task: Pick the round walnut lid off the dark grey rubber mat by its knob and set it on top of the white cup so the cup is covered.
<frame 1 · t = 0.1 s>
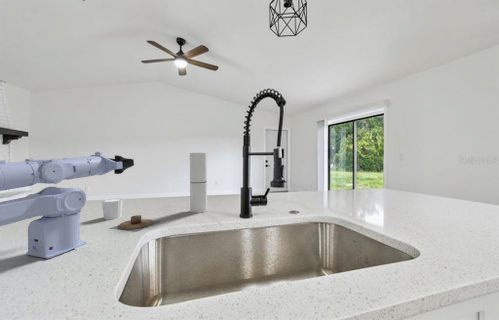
hand: (123, 162, 74), 22 cm above the worktop, tool horizontal, fingers open, 7 cm apart
rubber mat: (136, 225, 74), on the worktop
cylindrical container: (198, 211, 94), on the worktop
walnut lid: (136, 224, 74), resting on rubber mat
white cup: (112, 218, 84), on the worktop
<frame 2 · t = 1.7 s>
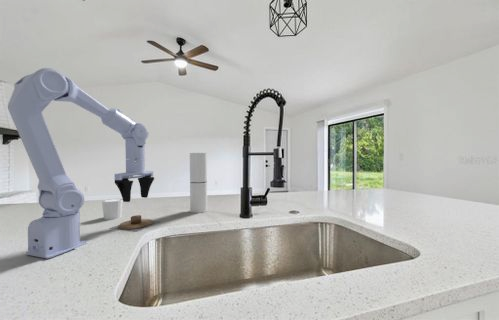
hand: (135, 199, 74), 9 cm above the worktop, tool pointing down, fingers open, 7 cm apart
nothing on the worktop moved.
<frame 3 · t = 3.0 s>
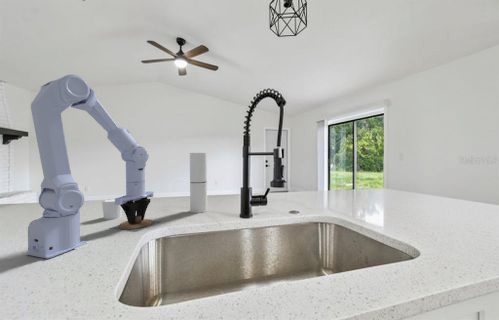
hand: (136, 221, 74), 1 cm above the worktop, tool pointing down, fingers closed on walnut lid, 3 cm apart
walnut lid: (136, 224, 74), resting on rubber mat, touching gripper
everything else where it was.
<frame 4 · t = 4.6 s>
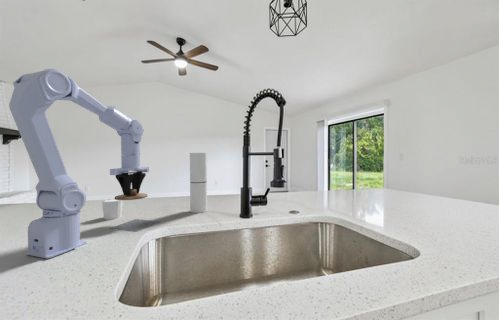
hand: (131, 194, 76), 10 cm above the worktop, tool pointing down, fingers closed on walnut lid, 3 cm apart
walnut lid: (131, 197, 76), point 9 cm above the worktop, touching gripper
everything else where it was.
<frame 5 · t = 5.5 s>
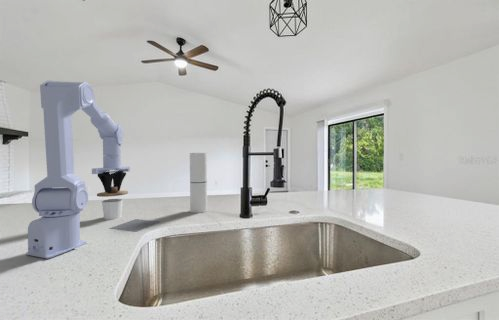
hand: (112, 191, 84), 10 cm above the worktop, tool pointing down, fingers closed on walnut lid, 3 cm apart
walnut lid: (112, 194, 84), point 9 cm above the worktop, touching gripper
everything else where it was.
when the fingers open (9 cm above the worktop, at t = 6.1 s): walnut lid drops 1 cm, resting on white cup.
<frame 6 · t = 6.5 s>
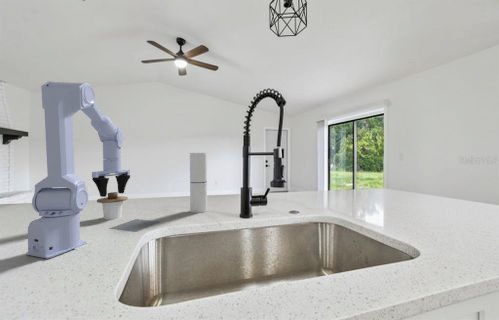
hand: (112, 194, 84), 9 cm above the worktop, tool pointing down, fingers open, 7 cm apart
walnut lid: (112, 200, 84), point 7 cm above the worktop, touching white cup
white cup: (112, 218, 84), on the worktop, touching walnut lid
everything else where it was.
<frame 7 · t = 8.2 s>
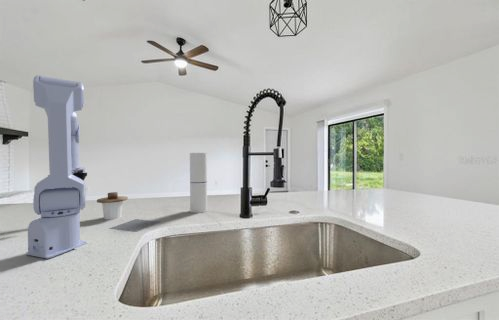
hand: (69, 194, 78), 10 cm above the worktop, tool pointing down, fingers open, 7 cm apart
nothing on the worktop moved.
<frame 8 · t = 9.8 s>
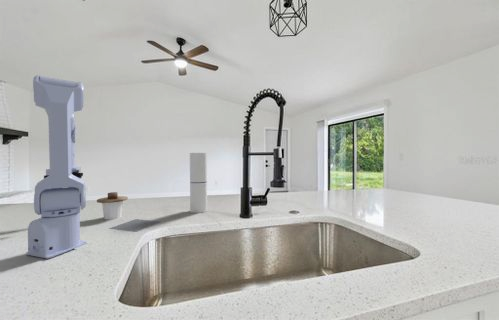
hand: (65, 194, 77), 10 cm above the worktop, tool pointing down, fingers open, 7 cm apart
nothing on the worktop moved.
at the end: walnut lid 0.0 cm from the white cup (horizontally); walnut lid point 7.0 cm above the worktop; walnut lid tilted 0° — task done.
